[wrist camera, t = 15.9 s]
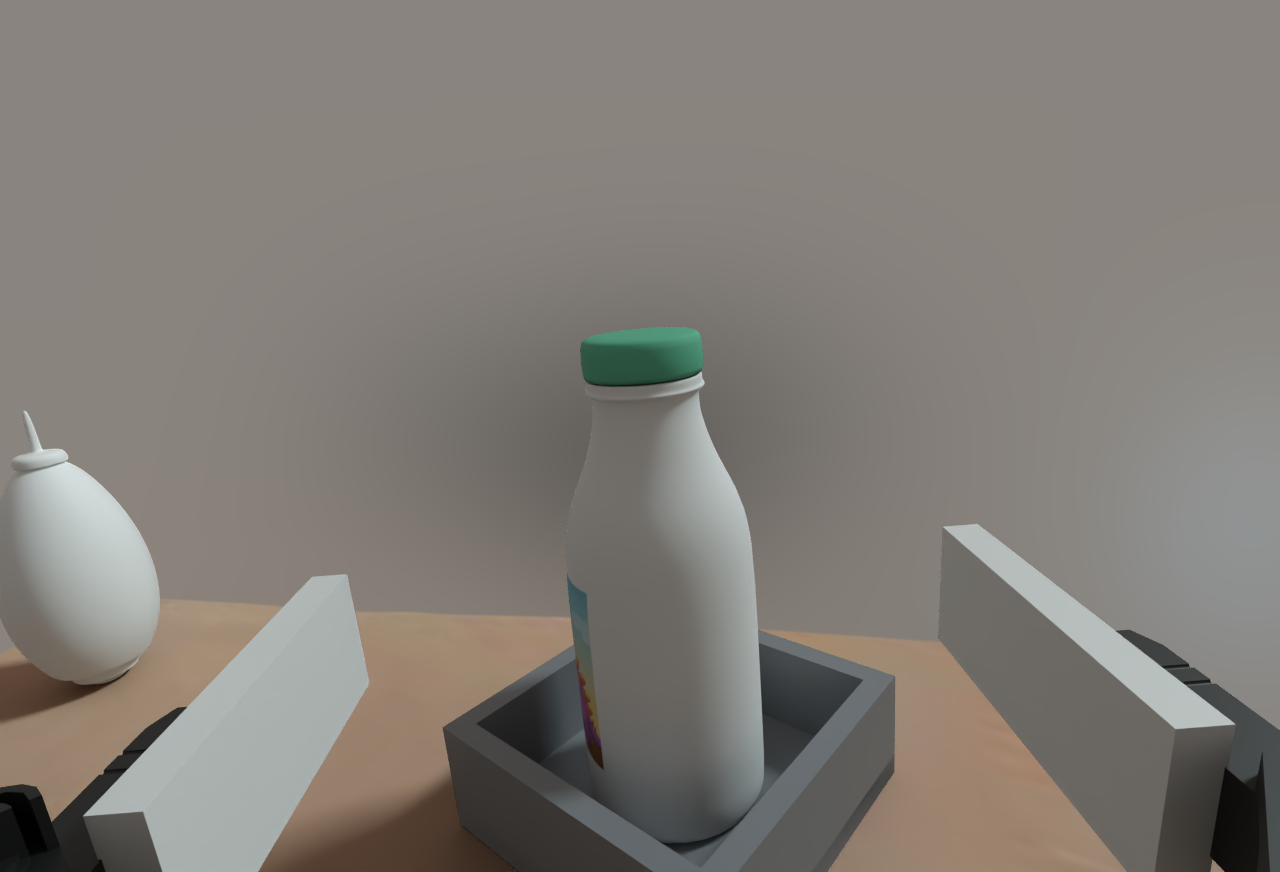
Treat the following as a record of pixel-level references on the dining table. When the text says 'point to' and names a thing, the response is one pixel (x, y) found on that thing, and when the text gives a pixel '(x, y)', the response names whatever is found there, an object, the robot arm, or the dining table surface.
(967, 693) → the dining table surface
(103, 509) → the white squeeze bottle
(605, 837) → the box
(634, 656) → the milk bottle
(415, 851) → the dining table surface
